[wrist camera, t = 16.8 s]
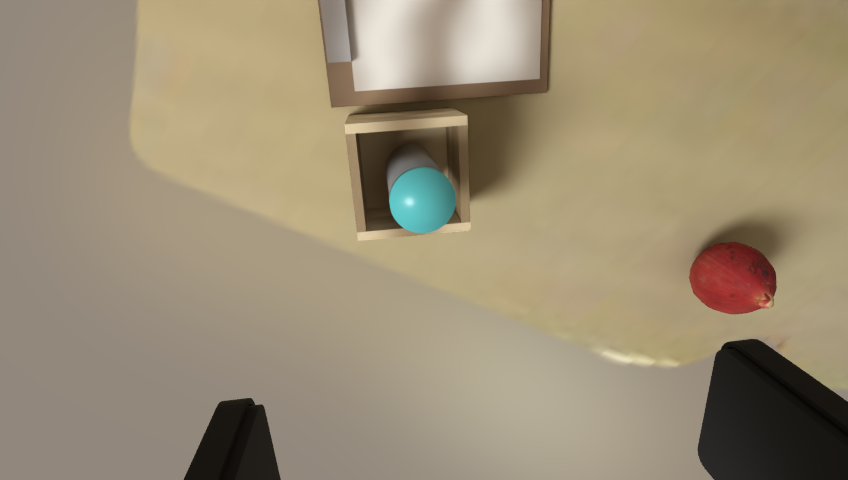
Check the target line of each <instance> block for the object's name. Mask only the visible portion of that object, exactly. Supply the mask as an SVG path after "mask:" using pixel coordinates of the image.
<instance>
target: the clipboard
mask: <svg viewBox="0 0 848 480" xmlns="http://www.w3.org/2000/svg"><path fill="white" fill-rule="evenodd" d="M318 5H319V13H320V20H321V28H322V36H323V44H324V52H325V60H326V68H327V76H328V84H329V92H330V100H331V108H332V107H346V106H361V105H375V104H389V103H403V102H418V101H432V100H446V99H460V98H474V97H489V96H503V95H517V94H531V93H546V92H547V68H548V36H549V5H550V0H318Z"/></svg>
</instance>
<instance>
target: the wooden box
mask: <svg viewBox="0 0 848 480" xmlns="http://www.w3.org/2000/svg"><path fill="white" fill-rule="evenodd" d="M344 125H345V134H346V142H347V151H348V159H349V168H350V176H351V185H352V193H353V202H354V210H355V219H356V227H357V236H358V241H362V240H373V239H383V238H394V237H405V236H416V235H426V234H437V233H448V232H459V231H469V230H470V197H469V158H468V120H467V115H466V114H464V113H462V112H460V111H458V110H455V109H453V108H441V109H427V110H413V111H399V112H385V113H371V114H357V115H349V116H348V118H347V120H346V122H345V124H344ZM403 144H417V145H420V146H422V147H423V148H425V149H426V150H427V151H428V152H429V153H430V155H431V156H432V158H433V159H434V161H435V162H436V163H437V165H438V166H439V168H440V169H441V171H442V172H443V174H444V175H445V176H446V177H447V178H448V180H449V181H450V182H451V184H452V186H453V188H454V190H455V194H456V206H455V210H454V212H453V215H452V216H451V218H450V219H449V221H448V222H447V223H446V224H445V225H444V226H442V227H441V228H439V229H438V230H435V231H433V232H429V233H415V232H411V231H408V230H406V229H405V228H403V227H402V226H401V225H399V224H398V223H397V221H396V220H395V219H394V217H393V215H392V213H391V209H390V203H389V190H388V183H387V177H386V168H385V167H386V161H387V158H388V156H389V155H390V153H391V152H392V151H393V150H394V149H395V148H397V147H398V146H400V145H403Z"/></svg>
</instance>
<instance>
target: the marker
mask: <svg viewBox="0 0 848 480" xmlns="http://www.w3.org/2000/svg"><path fill="white" fill-rule="evenodd" d="M385 168H386V177H387V183H388V190H389V203H390V209H391V213H392V215H393V217H394V219H395V220H396V221H397V223H398V224H399V225H401V226H402V227H403V228H405V229H406V230H408V231H411V232H415V233H429V232H433V231H435V230H438V229H439V228H441V227H442V226H444V225H445V224H446V223H447V222H448V221H449V219H450V218H451V216H452V215H453V212H454V210H455V206H456V194H455V190H454V188H453V186H452V184H451V182H450V181H449V180H448V178H447V177H446V176H445V175H444V174H443V172H442V171H441V169H440V168H439V166H438V165H437V163H436V162H435V161H434V159H433V158H432V156H431V155H430V153H429V152H428V151H427V150H426V149H425V148H423V147H422V146H420V145H417V144H403V145H400V146H398V147H397V148H395V149H394V150H393V151H392V152H391V153H390V155H389V156H388V158H387V161H386V167H385Z"/></svg>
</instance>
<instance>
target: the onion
mask: <svg viewBox="0 0 848 480" xmlns="http://www.w3.org/2000/svg"><path fill="white" fill-rule="evenodd" d="M689 279H690V283H691V287H692V290H693V293H694V294H695V295H696V296H697V297H698V298H699V299H700V300H701V301H702V302H703V303H704V304H705V305H706V306H707V307H709V308H712V309H714V310H717V311H720V312H724V313H728V314H743V313H749V312H753V311H755V310H758V309H761V308H766V309H768V308H770V307H773V305H774V299H773V296H774V294H775V291H776V273H775V270H774V268H773V267H772V265H771V264H770V263H769V262H768V260H767V259H766V258H765V256H764V255H763V254H762V253H761V252H759V251H758V250H756V249H754V248H752V247H749V246H747V245H744V244H741V243H737V242H730V243H720V244H716V245H713V246H712V247H710V248H708V249H706V250H704V251H703V252H702V253H701V254H700V255H699V256H698V257H697V258H696V260H695V261H694V263H693V265H692V267H691V270H690V276H689Z"/></svg>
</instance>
